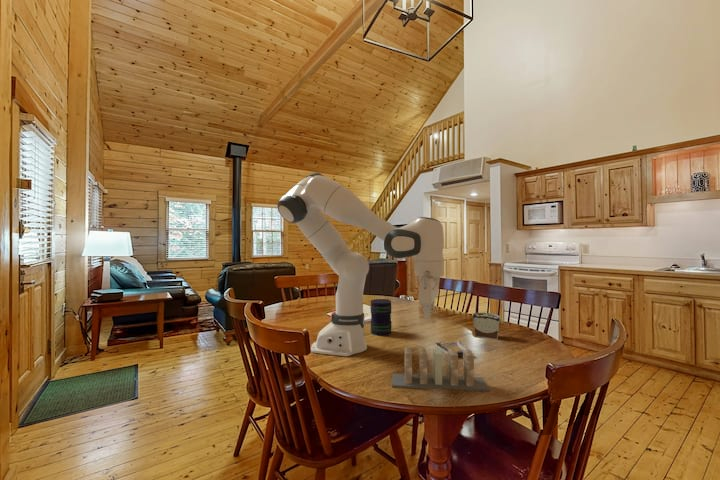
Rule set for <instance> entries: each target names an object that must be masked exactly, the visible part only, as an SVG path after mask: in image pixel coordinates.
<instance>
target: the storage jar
mask: <svg viewBox="0 0 720 480" xmlns="http://www.w3.org/2000/svg"><path fill="white" fill-rule="evenodd" d="M370 315H371V316H370V317H371V319H370V334H371V335H374V336H376V335H377V337H385V336H389V335H391V334H392V320H391V319H392V300H390V299H387V298H376V299H371V300H370Z"/></svg>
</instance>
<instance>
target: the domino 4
mask: <svg viewBox="0 0 720 480" xmlns="http://www.w3.org/2000/svg"><path fill="white" fill-rule="evenodd" d="M471 351H472V350H471V349H468V350H464V349H463V350H462V352H463V357H462V376H463V379H464V381H465V383H466V385H467V386H474V377H475V363H474V361H475V356H474V354H473V352H471Z"/></svg>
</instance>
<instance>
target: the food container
mask: <svg viewBox="0 0 720 480" xmlns="http://www.w3.org/2000/svg"><path fill="white" fill-rule="evenodd" d="M471 319H472V321H473V330H474V337H478V338H483V339H490V340H494V341H497V340H498V337H499V330H500V323H501V322H502V320H501V317H500V315H498V314H495V313H490V312H475V313H472V315H471Z"/></svg>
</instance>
